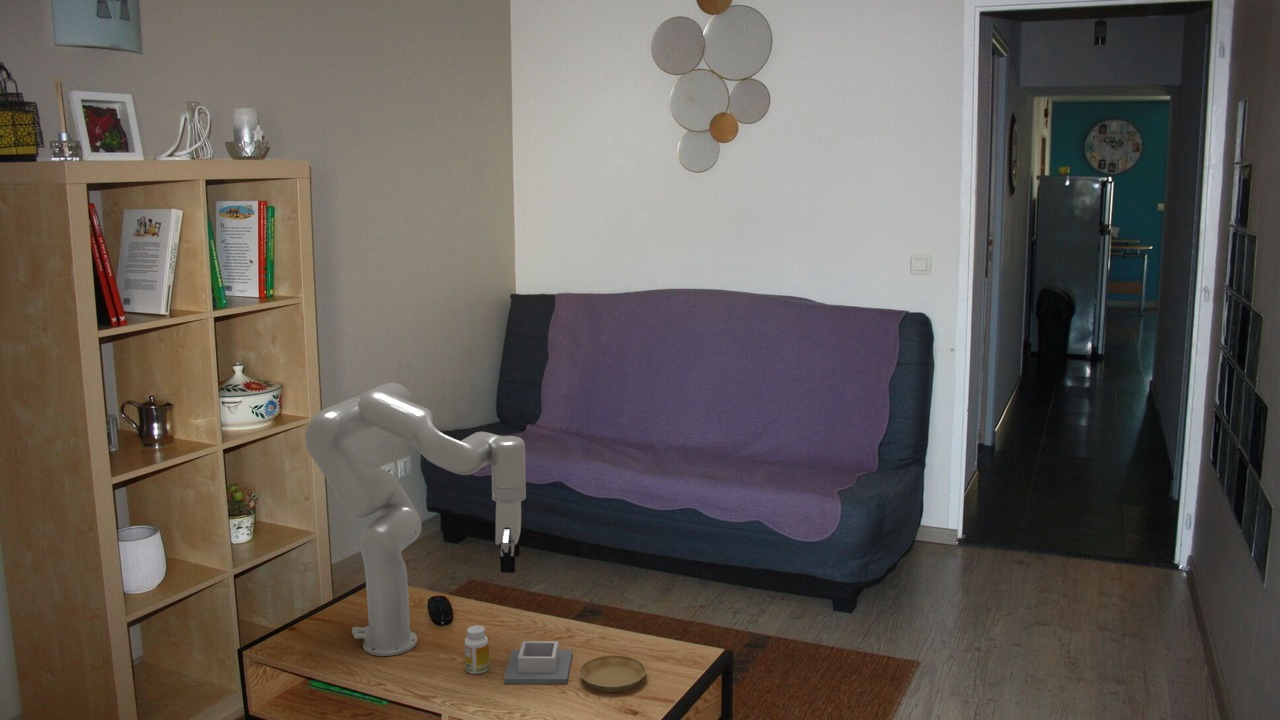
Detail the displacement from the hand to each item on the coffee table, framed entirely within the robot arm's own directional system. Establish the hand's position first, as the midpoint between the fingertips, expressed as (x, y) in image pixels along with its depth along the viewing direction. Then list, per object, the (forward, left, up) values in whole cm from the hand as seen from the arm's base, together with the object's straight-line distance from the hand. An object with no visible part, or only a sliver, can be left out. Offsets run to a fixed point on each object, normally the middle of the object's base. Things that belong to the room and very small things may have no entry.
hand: (510, 563), depth 233 cm
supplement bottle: (-8, -4, -24) cm, 25 cm away
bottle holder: (+6, -4, -24) cm, 25 cm away
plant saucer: (+23, -9, -24) cm, 35 cm away
